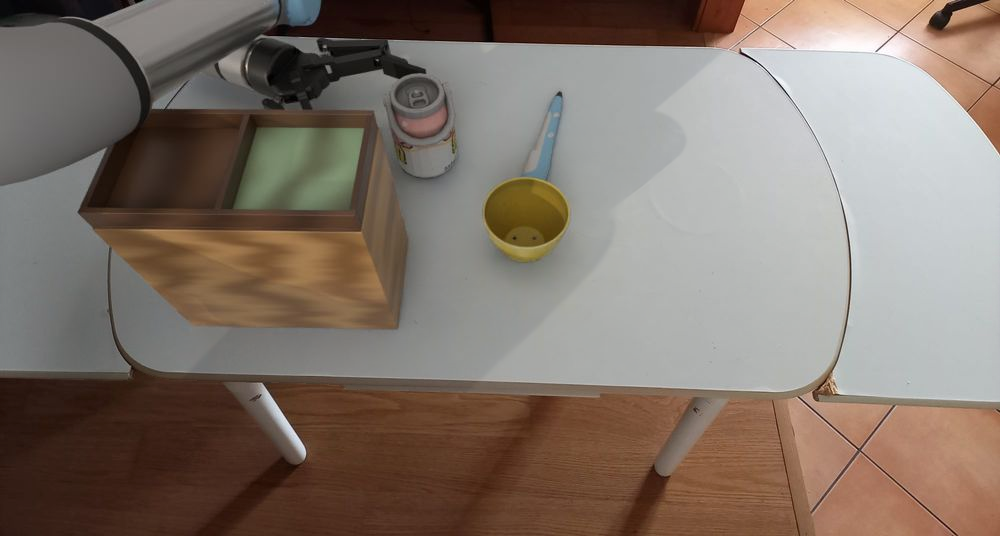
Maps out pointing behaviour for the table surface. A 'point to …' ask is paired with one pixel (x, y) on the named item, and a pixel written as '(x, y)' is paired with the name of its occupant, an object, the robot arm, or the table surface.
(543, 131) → the pen
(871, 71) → the table surface
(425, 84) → the beverage can
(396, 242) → the stand
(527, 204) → the flower pot
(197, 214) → the tray
